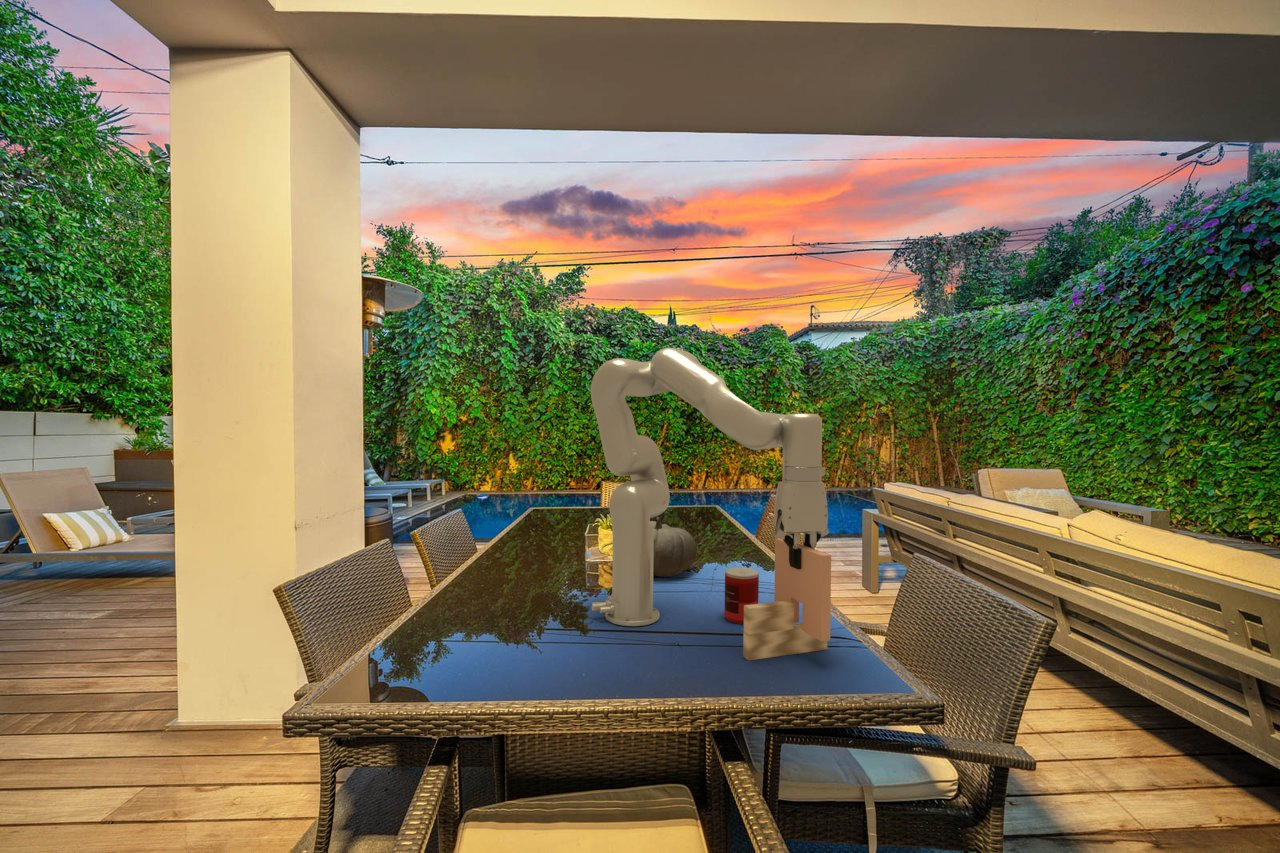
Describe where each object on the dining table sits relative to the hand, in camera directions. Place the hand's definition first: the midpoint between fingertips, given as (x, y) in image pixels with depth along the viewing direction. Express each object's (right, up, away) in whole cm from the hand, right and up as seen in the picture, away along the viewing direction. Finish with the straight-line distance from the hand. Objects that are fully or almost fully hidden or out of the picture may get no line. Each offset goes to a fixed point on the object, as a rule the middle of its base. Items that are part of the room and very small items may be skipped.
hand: (801, 566), depth 114 cm
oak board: (-3, -17, -1) cm, 17 cm away
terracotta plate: (0, -12, 0) cm, 12 cm away
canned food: (-9, -17, +19) cm, 27 cm away
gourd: (-28, -16, +59) cm, 67 cm away
